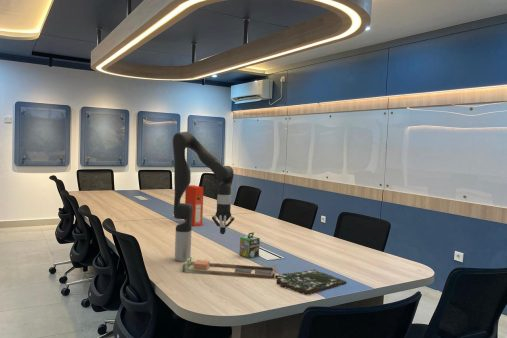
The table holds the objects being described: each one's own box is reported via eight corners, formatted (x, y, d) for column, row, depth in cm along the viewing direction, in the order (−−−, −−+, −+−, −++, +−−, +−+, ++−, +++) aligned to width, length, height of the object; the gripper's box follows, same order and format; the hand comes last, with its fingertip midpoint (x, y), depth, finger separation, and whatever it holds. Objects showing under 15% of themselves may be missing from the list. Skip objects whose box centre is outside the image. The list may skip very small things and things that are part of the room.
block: (197, 266, 223) (197, 259, 222) (209, 267, 222) (209, 260, 222) (193, 270, 216) (194, 263, 215) (206, 271, 215) (206, 264, 215)
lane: (189, 264, 226) (189, 257, 226) (274, 270, 223) (275, 263, 223) (182, 272, 212) (182, 264, 212) (274, 278, 208) (274, 271, 208)
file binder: (193, 226, 327) (195, 187, 325) (184, 222, 341) (185, 185, 339) (202, 225, 332) (203, 187, 330) (192, 221, 346) (194, 185, 344)
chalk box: (249, 252, 256) (250, 230, 255) (259, 256, 250) (260, 232, 249) (238, 255, 250) (239, 231, 249) (248, 258, 243) (250, 234, 242)
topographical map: (346, 284, 207) (346, 278, 207) (302, 297, 186) (302, 291, 186) (309, 270, 227) (309, 265, 226) (266, 281, 206) (266, 275, 206)
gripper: (236, 202, 219) (235, 233, 220) (212, 200, 220) (211, 231, 221) (235, 204, 212) (233, 236, 213) (210, 203, 212) (209, 234, 214)
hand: (222, 233), depth 217 cm, fingers closed
